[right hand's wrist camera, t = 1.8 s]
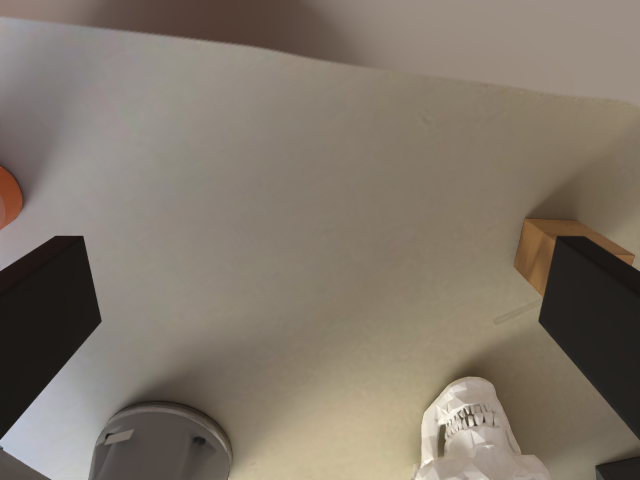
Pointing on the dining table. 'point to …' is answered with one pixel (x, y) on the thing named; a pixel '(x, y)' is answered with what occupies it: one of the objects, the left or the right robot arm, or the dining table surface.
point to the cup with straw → (9, 198)
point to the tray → (619, 470)
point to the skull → (472, 438)
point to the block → (541, 243)
